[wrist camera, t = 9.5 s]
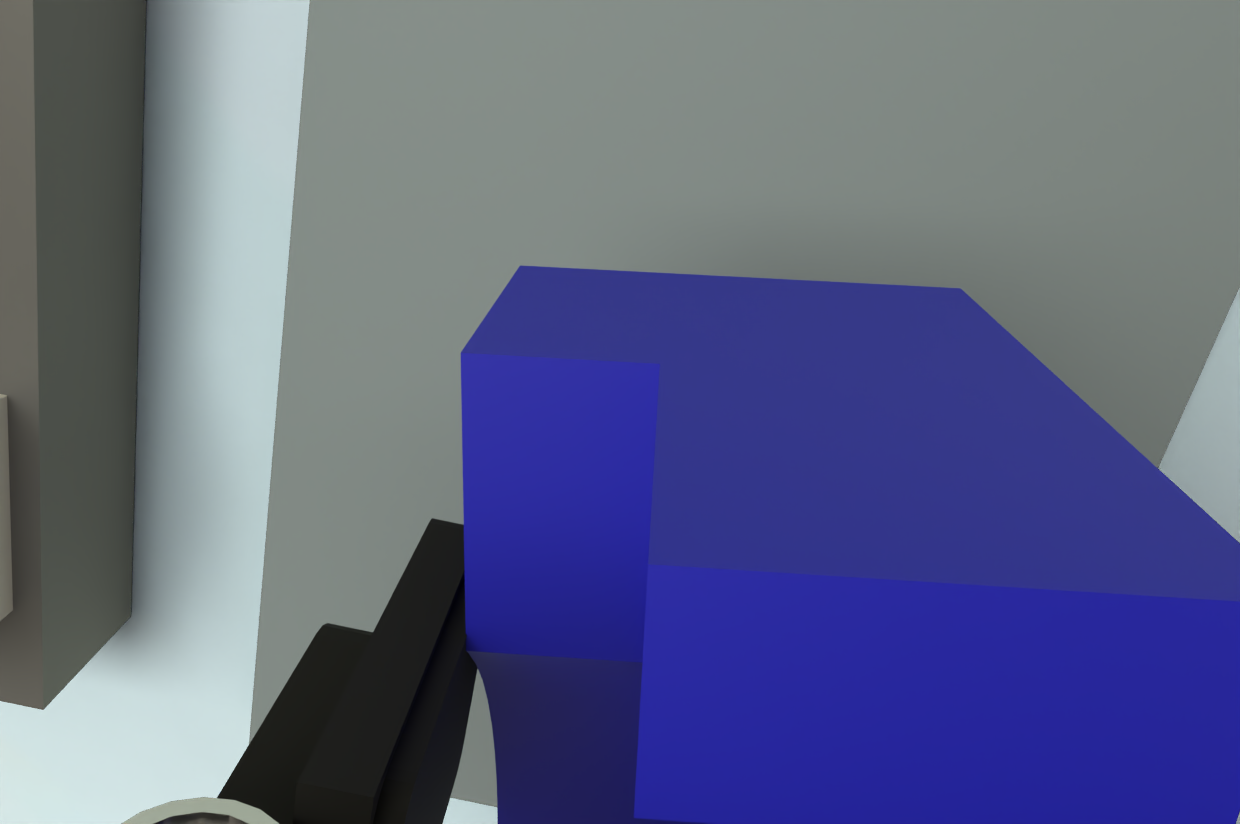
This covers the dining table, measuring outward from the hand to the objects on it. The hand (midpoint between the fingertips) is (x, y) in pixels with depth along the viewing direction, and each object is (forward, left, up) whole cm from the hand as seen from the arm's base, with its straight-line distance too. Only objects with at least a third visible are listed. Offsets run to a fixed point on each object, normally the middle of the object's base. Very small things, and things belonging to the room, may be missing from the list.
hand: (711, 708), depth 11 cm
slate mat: (0, 0, -8) cm, 8 cm away
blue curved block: (0, +2, -2) cm, 2 cm away
